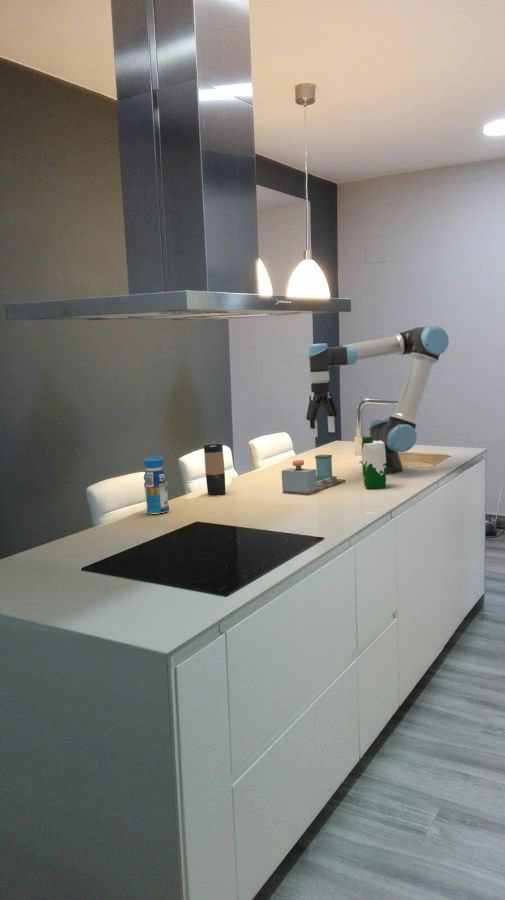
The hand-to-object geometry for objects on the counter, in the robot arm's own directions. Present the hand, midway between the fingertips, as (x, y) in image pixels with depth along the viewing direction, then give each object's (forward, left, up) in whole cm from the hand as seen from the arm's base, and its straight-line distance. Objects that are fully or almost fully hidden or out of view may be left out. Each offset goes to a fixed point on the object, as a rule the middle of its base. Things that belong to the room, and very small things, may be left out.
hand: (323, 434), depth 293 cm
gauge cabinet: (+18, -1, -21) cm, 27 cm away
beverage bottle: (+66, -31, -21) cm, 76 cm away
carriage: (0, -1, -19) cm, 19 cm away
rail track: (+7, -1, -21) cm, 22 cm away
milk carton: (0, +22, -21) cm, 31 cm away
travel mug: (+32, -32, -21) cm, 50 cm away
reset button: (+18, -1, -12) cm, 22 cm away
